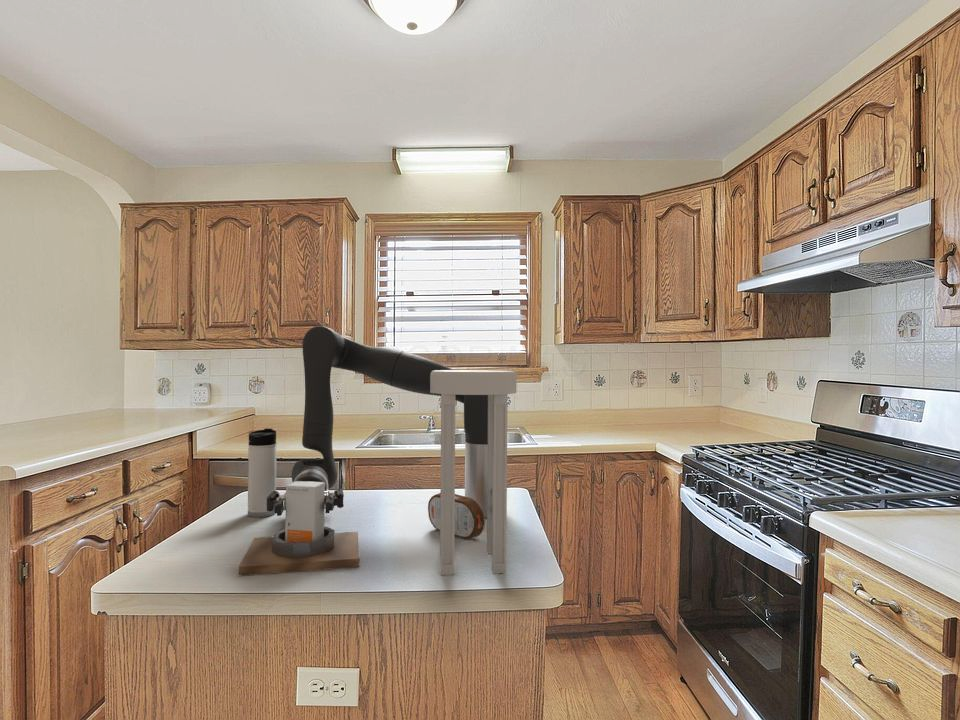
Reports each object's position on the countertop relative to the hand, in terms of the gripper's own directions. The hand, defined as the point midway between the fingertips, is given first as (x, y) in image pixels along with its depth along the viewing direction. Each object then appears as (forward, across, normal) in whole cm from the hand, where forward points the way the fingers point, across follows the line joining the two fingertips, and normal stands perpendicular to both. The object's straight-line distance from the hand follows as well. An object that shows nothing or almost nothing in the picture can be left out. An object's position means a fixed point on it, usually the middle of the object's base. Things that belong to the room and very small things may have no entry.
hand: (303, 509), depth 102 cm
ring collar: (-2, 0, +8) cm, 8 cm away
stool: (+8, +30, +9) cm, 32 cm away
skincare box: (-2, 0, +8) cm, 8 cm away
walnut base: (-2, 0, +9) cm, 9 cm away
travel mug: (-34, -12, +9) cm, 37 cm away
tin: (-9, +30, +10) cm, 33 cm away
